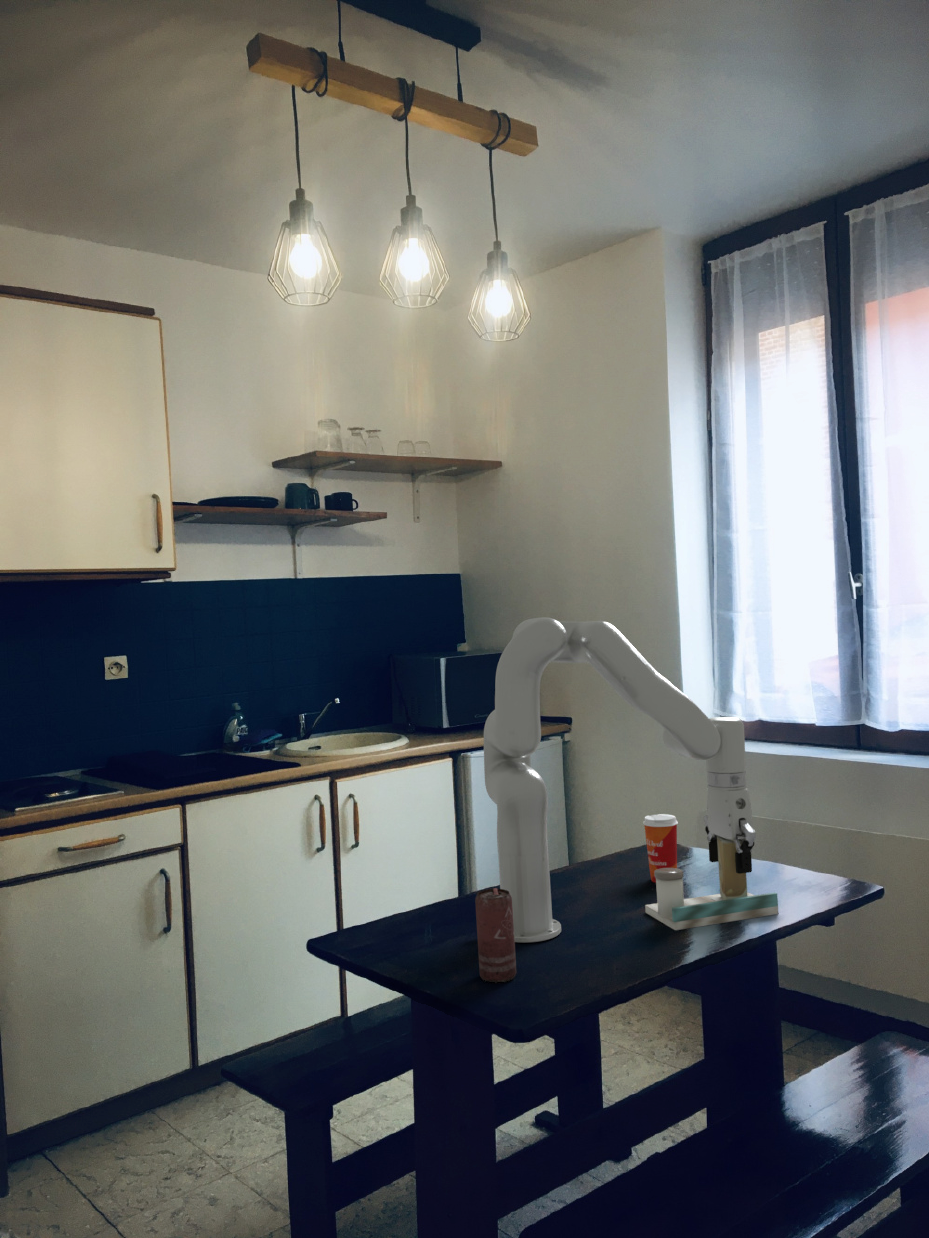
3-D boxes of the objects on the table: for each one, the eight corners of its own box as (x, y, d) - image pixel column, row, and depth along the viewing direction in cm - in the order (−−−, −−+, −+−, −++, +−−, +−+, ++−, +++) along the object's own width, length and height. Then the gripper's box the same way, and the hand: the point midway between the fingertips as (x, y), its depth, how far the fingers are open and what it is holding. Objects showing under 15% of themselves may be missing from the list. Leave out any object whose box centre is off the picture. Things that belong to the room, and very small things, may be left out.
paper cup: (640, 878, 210) (636, 816, 210) (670, 873, 212) (666, 812, 212) (657, 887, 202) (653, 822, 203) (688, 882, 205) (684, 818, 205)
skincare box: (719, 895, 188) (715, 834, 188) (741, 894, 188) (737, 833, 188) (726, 905, 182) (722, 841, 182) (748, 904, 181) (744, 841, 182)
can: (514, 968, 159) (509, 885, 159) (518, 982, 153) (512, 896, 153) (479, 970, 159) (474, 888, 159) (481, 985, 153) (475, 899, 153)
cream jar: (665, 919, 176) (662, 876, 176) (652, 911, 181) (649, 869, 181) (691, 915, 177) (688, 872, 177) (677, 907, 182) (674, 866, 182)
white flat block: (675, 930, 174) (673, 909, 174) (645, 912, 185) (644, 892, 185) (778, 913, 180) (777, 893, 180) (743, 897, 191) (742, 878, 191)
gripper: (768, 784, 178) (772, 875, 178) (720, 772, 195) (723, 855, 194) (733, 787, 176) (737, 879, 176) (687, 775, 193) (691, 859, 192)
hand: (730, 866), depth 185 cm, fingers open, 9 cm apart
